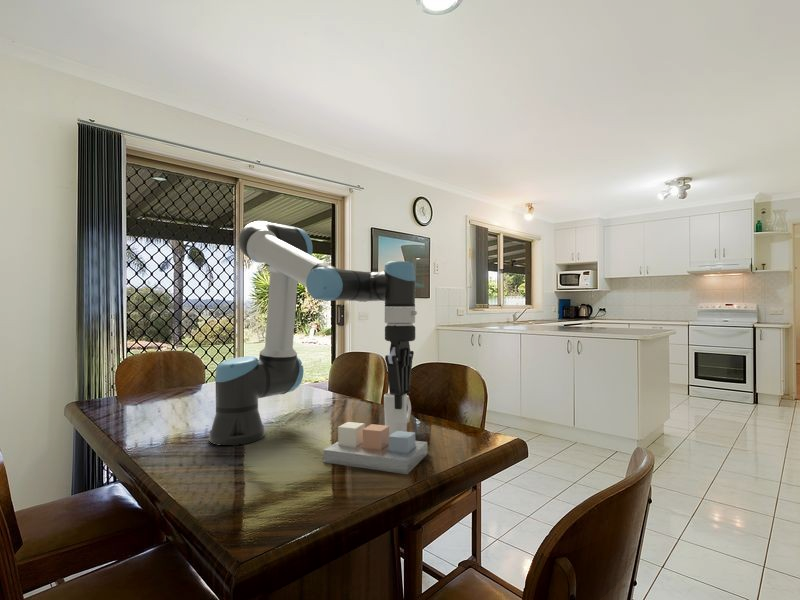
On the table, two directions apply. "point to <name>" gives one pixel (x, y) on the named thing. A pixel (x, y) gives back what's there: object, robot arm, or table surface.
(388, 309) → the robot arm
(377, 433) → the terracotta key
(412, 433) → the slate key
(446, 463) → the table surface
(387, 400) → the mug
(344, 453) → the grey slotted board
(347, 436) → the cream cube
